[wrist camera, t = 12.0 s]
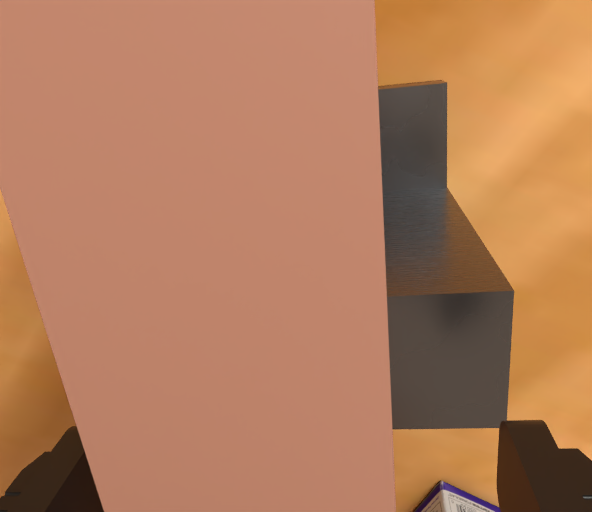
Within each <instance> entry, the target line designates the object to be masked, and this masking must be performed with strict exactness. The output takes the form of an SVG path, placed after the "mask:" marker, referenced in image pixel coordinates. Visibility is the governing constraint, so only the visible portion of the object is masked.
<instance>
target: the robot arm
mask: <svg viewBox="0 0 592 512" xmlns="http://www.w3.org/2000/svg"><path fill="white" fill-rule="evenodd" d="M497 494H498V501H499V507H500V511H501V512H592V461H591V460H590V459H589V458H588V457H587V456H586V455H584V454H583V453H582V452H581V451H580V450H579V449H558V447H557V445H556V443H555V441H554V439H553V437H552V435H551V433H550V431H549V429H548V427H547V425H546V424H545V422H544V421H542V420H522V421H501V423H500V428H499V446H498V465H497ZM0 512H104V510H103V507H102V504H101V501H100V498H99V494H98V491H97V488H96V485H95V482H94V479H93V476H92V473H91V469H90V466H89V463H88V460H87V457H86V454H85V451H84V448H83V445H82V441H81V438H80V435H79V432H78V429H77V426H73V427H71V428H69V429H68V430H67V431H66V432H65V434H64V435H63V436H62V438H61V439H60V440H59V442H58V443H57V444H56V446H55V447H54V448H53V450H52V451H51V452H44V453H43V454H42V455H41V456H39V457H38V458H37V459H36V460H34V461H33V462H32V463H31V464H29V465H28V466H27V467H26V468H24V469H23V470H22V471H21V472H20V473H19V475H18V476H17V477H16V479H15V480H14V481H13V482H12V484H11V485H10V486H9V488H8V489H7V490H6V492H5V496H2V497H1V498H0Z"/></svg>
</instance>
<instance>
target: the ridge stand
mask: <svg viewBox="0 0 592 512" xmlns="http://www.w3.org/2000/svg"><path fill="white" fill-rule="evenodd" d="M378 98H379V122H380V146H381V170H382V193H383V217H384V241H385V265H386V288H387V312H388V336H389V360H390V384H391V407H392V429H450V428H500V423H501V421H507V405H508V387H509V370H510V352H511V334H512V317H513V299H514V290H513V288H512V287H511V285H510V284H509V282H508V281H507V279H506V278H505V276H504V274H503V273H502V271H501V270H500V268H499V267H498V265H497V264H496V262H495V261H494V259H493V258H492V256H491V254H490V253H489V251H488V250H487V248H486V247H485V245H484V244H483V242H482V241H481V239H480V237H479V236H478V234H477V233H476V231H475V230H474V228H473V227H472V225H471V224H470V222H469V220H468V219H467V217H466V216H465V214H464V213H463V211H462V210H461V208H460V207H459V205H458V204H457V202H456V200H455V199H454V197H453V196H452V194H451V193H450V191H449V190H448V188H447V83H446V82H444V81H442V80H437V81H427V82H417V83H407V84H397V85H387V86H378Z"/></svg>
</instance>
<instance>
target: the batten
mask: <svg viewBox="0 0 592 512" xmlns="http://www.w3.org/2000/svg"><path fill="white" fill-rule="evenodd" d="M0 189H1V192H2V195H3V198H4V201H5V204H6V207H7V211H8V214H9V217H10V220H11V223H12V226H13V229H14V232H15V235H16V239H17V242H18V245H19V248H20V251H21V254H22V257H23V260H24V264H25V267H26V270H27V273H28V276H29V279H30V282H31V285H32V288H33V292H34V295H35V298H36V301H37V304H38V307H39V310H40V313H41V317H42V320H43V323H44V326H45V329H46V332H47V335H48V338H49V342H50V345H51V348H52V351H53V354H54V357H55V360H56V363H57V366H58V370H59V373H60V376H61V379H62V382H63V385H64V388H65V391H66V395H67V398H68V401H69V404H70V407H71V410H72V413H73V416H74V420H75V423H76V426H77V429H78V432H79V435H80V438H81V441H82V445H83V448H84V451H85V454H86V457H87V460H88V463H89V466H90V469H91V473H92V476H93V479H94V482H95V485H96V488H97V491H98V494H99V498H100V501H101V504H102V507H103V510H104V512H396V502H395V479H394V455H393V431H392V407H391V384H390V360H389V336H388V312H387V288H386V265H385V241H384V217H383V193H382V170H381V146H380V122H379V98H378V75H377V51H376V27H375V3H374V0H0Z"/></svg>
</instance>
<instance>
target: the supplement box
mask: <svg viewBox="0 0 592 512" xmlns="http://www.w3.org/2000/svg"><path fill="white" fill-rule="evenodd" d="M414 512H501V511H500V508H499V507H497V506H495V505H492V504H490V503H488V502H486V501H484V500H482V499H479V498H477V497H475V496H473V495H471V494H469V493H467V492H465V491H462V490H460V489H458V488H456V487H454V486H452V485H450V484H448V483H445V482H443V481H440V482H439V483H438V484H437V485H436V486H435V487H434V489H433V490H432V491H431V492H430V493H429V494H428V496H427V497H426V498H425V499H424V501H423V502H422V503H421V504H420V505H419V506H418V507H417V509H416V510H415V511H414Z"/></svg>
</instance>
